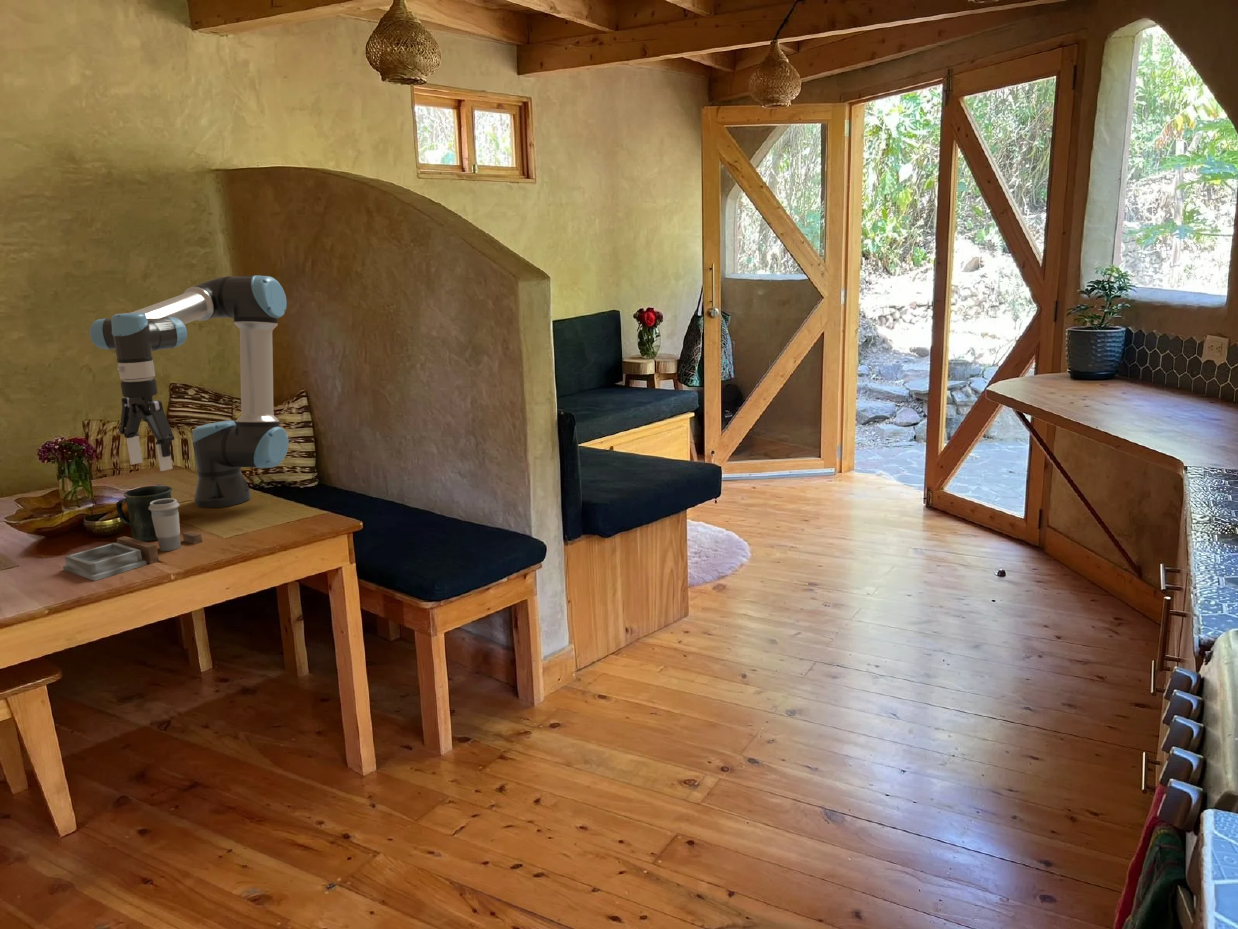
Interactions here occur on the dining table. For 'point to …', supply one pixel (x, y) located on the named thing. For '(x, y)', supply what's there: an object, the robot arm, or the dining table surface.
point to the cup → (166, 523)
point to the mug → (142, 510)
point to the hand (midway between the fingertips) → (151, 466)
